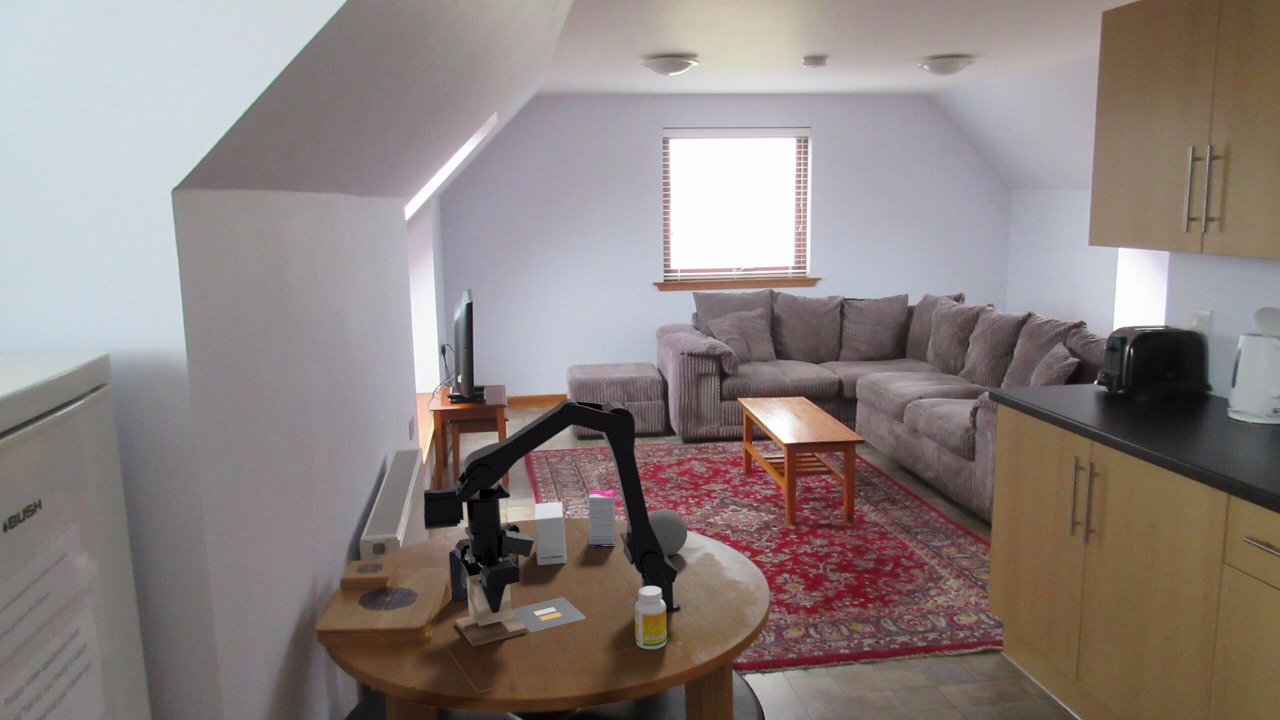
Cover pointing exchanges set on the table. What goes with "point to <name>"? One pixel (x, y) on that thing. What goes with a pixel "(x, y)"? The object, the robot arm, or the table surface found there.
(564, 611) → the gray tile
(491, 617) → the maple block
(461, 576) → the vhs cassette tape
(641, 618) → the supplement bottle
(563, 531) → the skincare box
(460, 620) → the walnut pad
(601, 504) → the supplement box
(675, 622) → the table surface
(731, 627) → the table surface
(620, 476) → the robot arm
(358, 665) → the table surface
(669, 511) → the decorative ball
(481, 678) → the table surface
